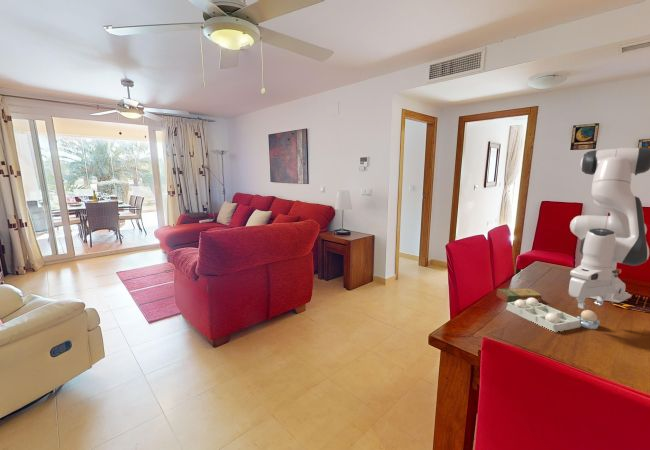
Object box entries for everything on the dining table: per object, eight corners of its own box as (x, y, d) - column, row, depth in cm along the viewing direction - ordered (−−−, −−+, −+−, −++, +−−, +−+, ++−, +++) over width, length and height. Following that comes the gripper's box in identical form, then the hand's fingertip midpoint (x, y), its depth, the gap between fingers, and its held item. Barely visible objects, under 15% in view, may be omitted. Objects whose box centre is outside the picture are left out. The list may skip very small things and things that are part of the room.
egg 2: (530, 305, 129) (531, 295, 128) (540, 309, 125) (542, 299, 124) (522, 306, 128) (523, 296, 127) (532, 310, 123) (534, 300, 123)
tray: (529, 305, 131) (530, 298, 130) (580, 327, 111) (581, 319, 111) (506, 309, 127) (506, 302, 126) (554, 332, 107) (555, 325, 107)
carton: (541, 303, 133) (542, 294, 133) (506, 303, 133) (507, 295, 132) (528, 296, 141) (529, 287, 141) (496, 296, 141) (496, 288, 141)
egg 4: (585, 318, 115) (586, 307, 115) (598, 323, 111) (600, 312, 110) (577, 319, 114) (578, 308, 113) (590, 325, 110) (592, 314, 109)
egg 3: (550, 321, 115) (551, 310, 114) (562, 326, 110) (563, 315, 110) (541, 322, 113) (542, 311, 113) (553, 328, 109) (555, 317, 108)
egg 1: (519, 307, 127) (520, 297, 126) (529, 311, 123) (530, 301, 122) (511, 308, 126) (512, 298, 125) (521, 313, 121) (522, 302, 121)
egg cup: (583, 320, 116) (584, 314, 116) (601, 327, 111) (602, 321, 110) (573, 322, 115) (574, 316, 114) (590, 330, 109) (591, 323, 109)
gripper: (603, 267, 115) (598, 300, 117) (567, 271, 109) (562, 306, 111) (624, 272, 109) (618, 306, 111) (586, 276, 103) (581, 313, 105)
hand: (590, 306), depth 111 cm, fingers open, 8 cm apart
